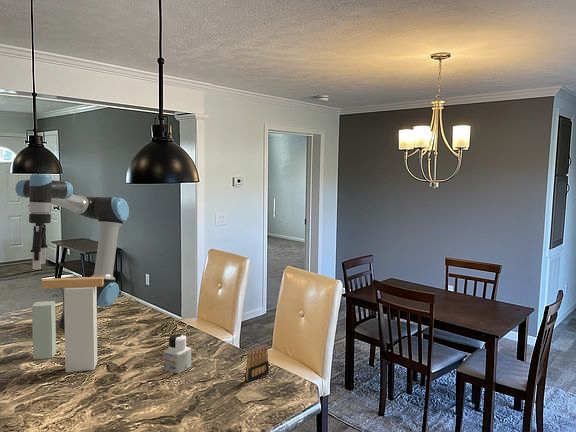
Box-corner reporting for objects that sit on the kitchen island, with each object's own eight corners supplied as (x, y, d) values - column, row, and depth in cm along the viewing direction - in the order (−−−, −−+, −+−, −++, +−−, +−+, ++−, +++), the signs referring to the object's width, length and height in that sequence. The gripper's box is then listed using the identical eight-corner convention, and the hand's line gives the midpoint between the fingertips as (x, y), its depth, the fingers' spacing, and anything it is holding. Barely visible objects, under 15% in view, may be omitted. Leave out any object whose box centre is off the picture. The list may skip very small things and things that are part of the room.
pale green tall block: (37, 353, 180) (36, 301, 178) (56, 352, 182) (55, 301, 180) (33, 359, 175) (31, 306, 173) (52, 358, 176) (51, 305, 175)
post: (70, 363, 172) (68, 284, 169) (97, 361, 174) (96, 283, 172) (65, 372, 164) (63, 289, 161) (94, 369, 167) (92, 288, 164)
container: (163, 369, 168) (163, 337, 167) (176, 362, 175) (176, 331, 174) (178, 374, 165) (178, 341, 164) (191, 366, 172) (191, 334, 171)
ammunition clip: (248, 382, 160) (248, 350, 159) (244, 380, 161) (245, 349, 160) (268, 373, 168) (269, 343, 167) (265, 371, 169) (266, 341, 168)
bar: (44, 286, 165) (43, 278, 164) (103, 284, 170) (103, 276, 170) (41, 288, 162) (41, 280, 161) (102, 286, 167) (102, 278, 167)
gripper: (34, 211, 182) (33, 262, 183) (23, 214, 159) (22, 271, 160) (54, 212, 185) (53, 261, 186) (46, 214, 162) (45, 270, 163)
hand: (39, 266), depth 173 cm, fingers open, 13 cm apart
